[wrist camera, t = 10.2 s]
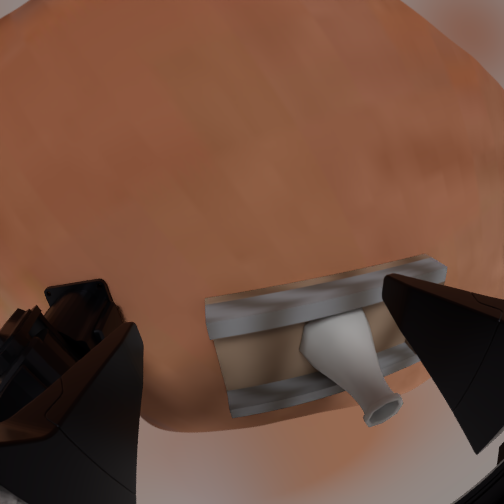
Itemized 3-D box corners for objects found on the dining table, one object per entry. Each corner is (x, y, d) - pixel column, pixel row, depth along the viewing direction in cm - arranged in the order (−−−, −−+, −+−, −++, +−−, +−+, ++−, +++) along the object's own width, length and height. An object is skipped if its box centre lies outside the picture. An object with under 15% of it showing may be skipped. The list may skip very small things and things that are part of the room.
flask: (367, 346, 26) (416, 414, 17) (303, 372, 26) (339, 452, 17) (366, 291, 23) (434, 360, 14) (292, 318, 23) (338, 409, 14)
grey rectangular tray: (228, 392, 27) (232, 418, 23) (204, 298, 22) (205, 323, 19) (407, 343, 29) (422, 359, 26) (425, 253, 25) (447, 267, 21)
